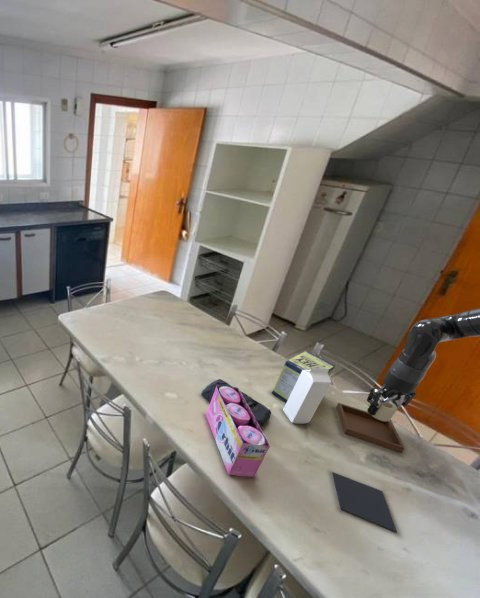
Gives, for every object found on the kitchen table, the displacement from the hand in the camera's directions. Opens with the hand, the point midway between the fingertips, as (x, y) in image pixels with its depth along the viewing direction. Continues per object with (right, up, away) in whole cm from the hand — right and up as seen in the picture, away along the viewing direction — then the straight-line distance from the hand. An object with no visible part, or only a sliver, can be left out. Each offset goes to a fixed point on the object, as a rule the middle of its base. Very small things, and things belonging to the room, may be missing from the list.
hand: (379, 413), depth 110 cm
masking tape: (0, -1, 0) cm, 1 cm away
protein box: (-18, +1, +16) cm, 24 cm away
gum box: (-54, -8, -6) cm, 55 cm away
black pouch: (-45, 0, +9) cm, 46 cm away
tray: (-2, -7, +3) cm, 8 cm away
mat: (-23, -17, -20) cm, 35 cm away
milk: (-25, -4, +6) cm, 26 cm away
